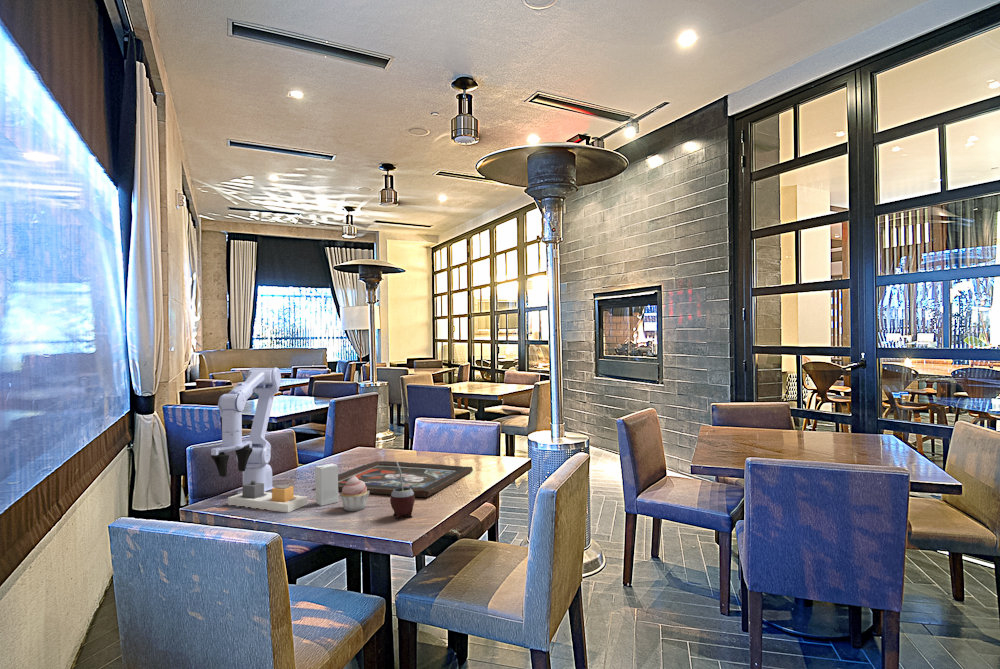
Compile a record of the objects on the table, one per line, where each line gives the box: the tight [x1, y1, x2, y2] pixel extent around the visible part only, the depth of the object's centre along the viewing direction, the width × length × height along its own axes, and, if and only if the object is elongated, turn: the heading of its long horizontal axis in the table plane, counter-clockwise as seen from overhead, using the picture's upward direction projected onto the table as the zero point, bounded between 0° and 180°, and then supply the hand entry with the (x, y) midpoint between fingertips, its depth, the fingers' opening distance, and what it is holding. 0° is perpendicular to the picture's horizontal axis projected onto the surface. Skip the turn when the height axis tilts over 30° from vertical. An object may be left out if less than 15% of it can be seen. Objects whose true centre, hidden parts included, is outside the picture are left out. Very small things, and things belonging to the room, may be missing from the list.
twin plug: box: [241, 481, 264, 499], centre depth 184 cm, size 4×5×7 cm
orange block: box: [271, 484, 295, 502], centre depth 180 cm, size 4×5×6 cm
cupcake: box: [338, 476, 370, 512], centre depth 176 cm, size 9×9×10 cm
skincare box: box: [314, 462, 339, 506], centre depth 183 cm, size 6×4×12 cm
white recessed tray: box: [227, 491, 309, 513], centre depth 182 cm, size 9×24×3 cm, turn 69°
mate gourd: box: [389, 461, 416, 521], centre depth 168 cm, size 8×8×15 cm
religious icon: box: [338, 460, 474, 498], centre depth 211 cm, size 40×45×3 cm
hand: (232, 473), depth 182 cm, fingers open, 7 cm apart
